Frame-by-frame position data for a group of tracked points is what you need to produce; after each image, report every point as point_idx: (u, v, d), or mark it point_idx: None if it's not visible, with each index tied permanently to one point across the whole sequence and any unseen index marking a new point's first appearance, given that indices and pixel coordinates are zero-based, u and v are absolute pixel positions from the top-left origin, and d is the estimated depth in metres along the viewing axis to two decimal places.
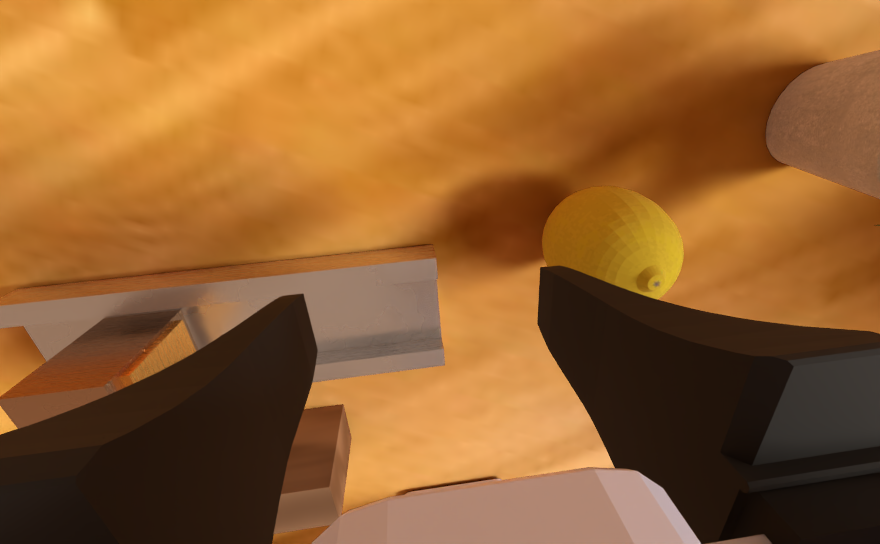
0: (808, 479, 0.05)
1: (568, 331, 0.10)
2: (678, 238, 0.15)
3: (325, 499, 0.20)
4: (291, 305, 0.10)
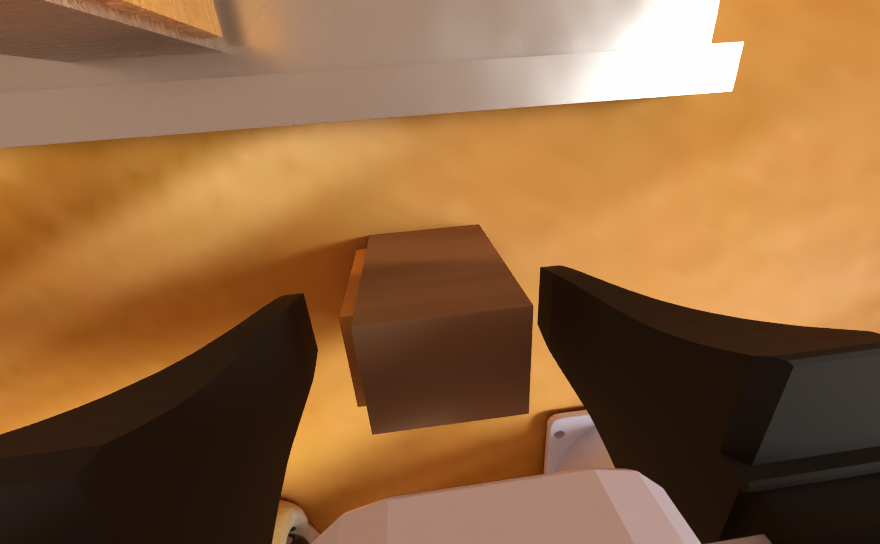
0: (808, 479, 0.05)
1: (568, 331, 0.10)
2: None
3: (515, 343, 0.09)
4: (291, 305, 0.10)
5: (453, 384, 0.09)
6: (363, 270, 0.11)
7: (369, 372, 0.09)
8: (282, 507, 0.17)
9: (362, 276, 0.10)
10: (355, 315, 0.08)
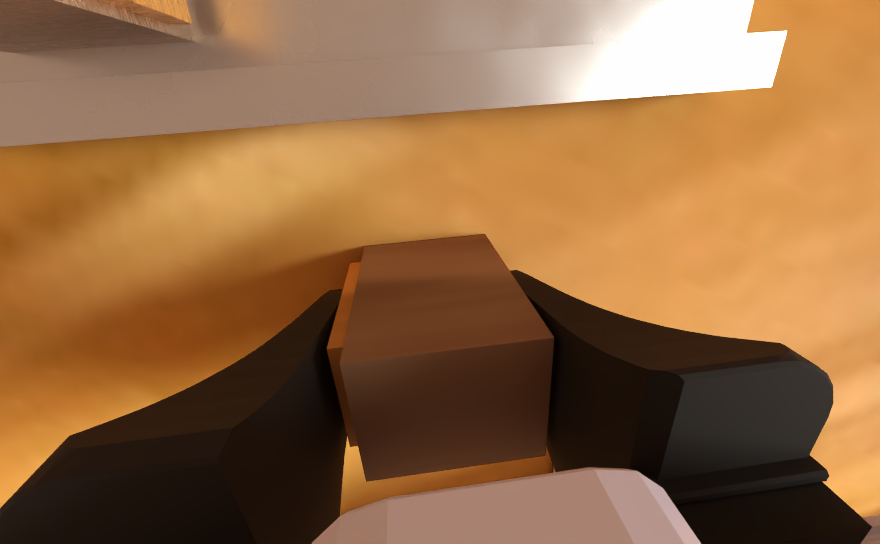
0: (712, 494, 0.05)
1: None
2: None
3: (531, 379, 0.07)
4: None
5: (459, 425, 0.08)
6: (356, 289, 0.09)
7: (362, 414, 0.07)
8: None
9: (355, 297, 0.09)
10: (345, 348, 0.07)
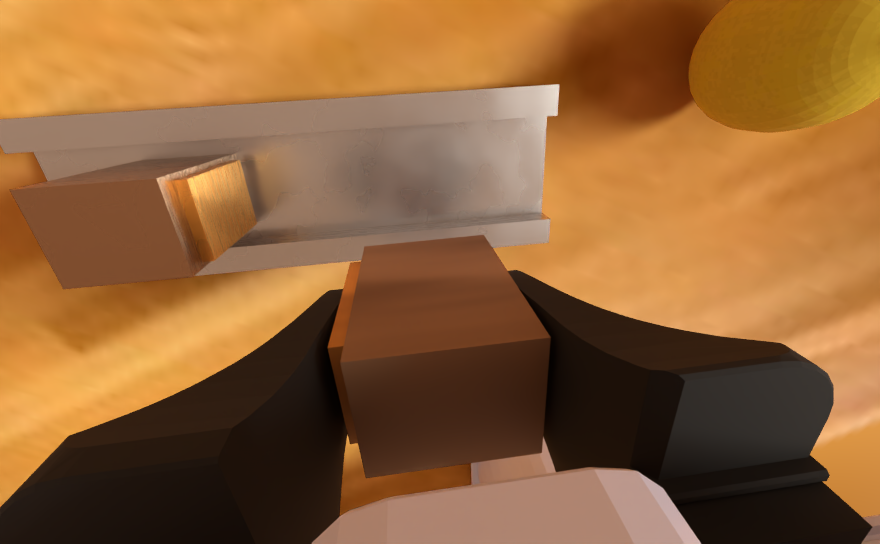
0: (712, 494, 0.05)
1: None
2: None
3: (528, 378, 0.08)
4: None
5: (458, 423, 0.08)
6: (356, 289, 0.10)
7: (362, 412, 0.07)
8: None
9: (355, 297, 0.09)
10: (346, 347, 0.07)
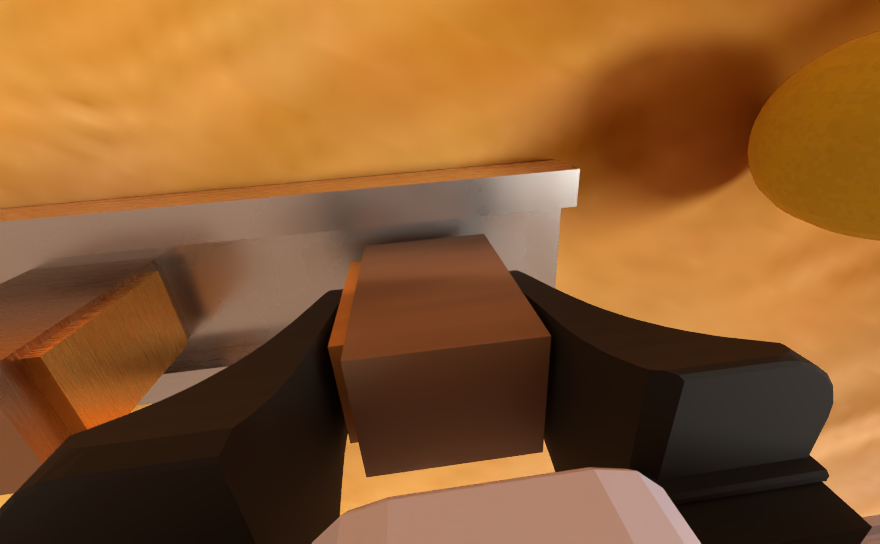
0: (711, 493, 0.05)
1: None
2: None
3: (529, 377, 0.08)
4: None
5: (458, 422, 0.08)
6: (357, 288, 0.10)
7: (362, 410, 0.07)
8: None
9: (355, 296, 0.09)
10: (346, 346, 0.07)
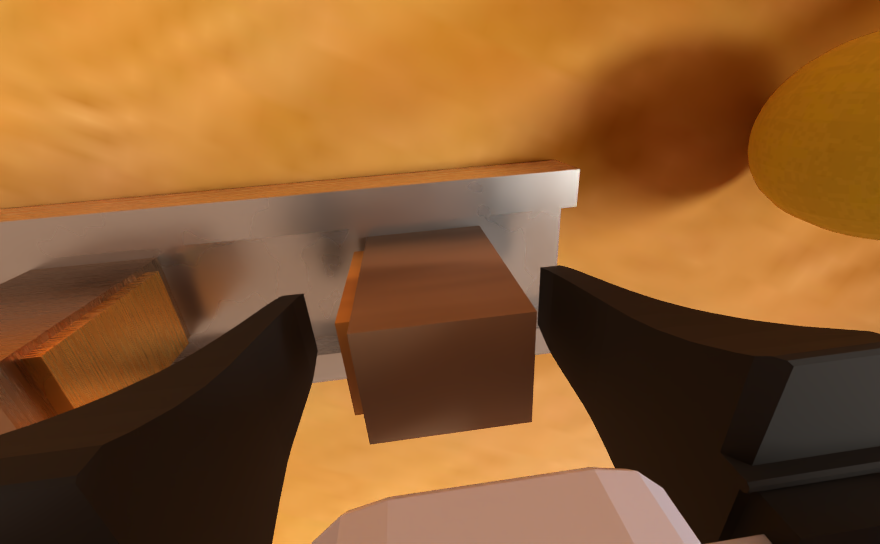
0: (807, 479, 0.05)
1: (568, 331, 0.10)
2: None
3: (517, 350, 0.08)
4: (291, 305, 0.10)
5: (454, 392, 0.09)
6: (360, 273, 0.10)
7: (366, 381, 0.08)
8: None
9: (359, 280, 0.10)
10: (352, 321, 0.08)
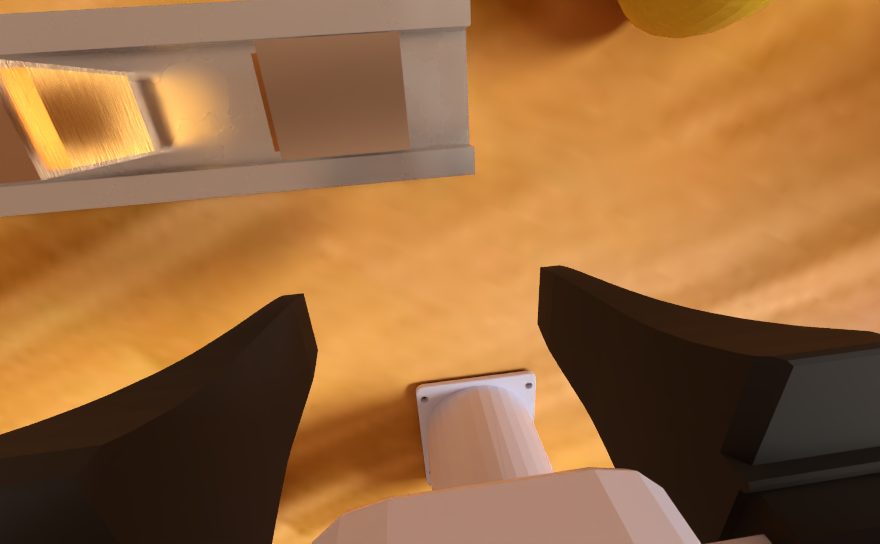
0: (808, 479, 0.05)
1: (568, 331, 0.10)
2: None
3: (389, 70, 0.11)
4: (291, 305, 0.10)
5: (343, 110, 0.11)
6: None
7: (272, 91, 0.11)
8: None
9: None
10: None
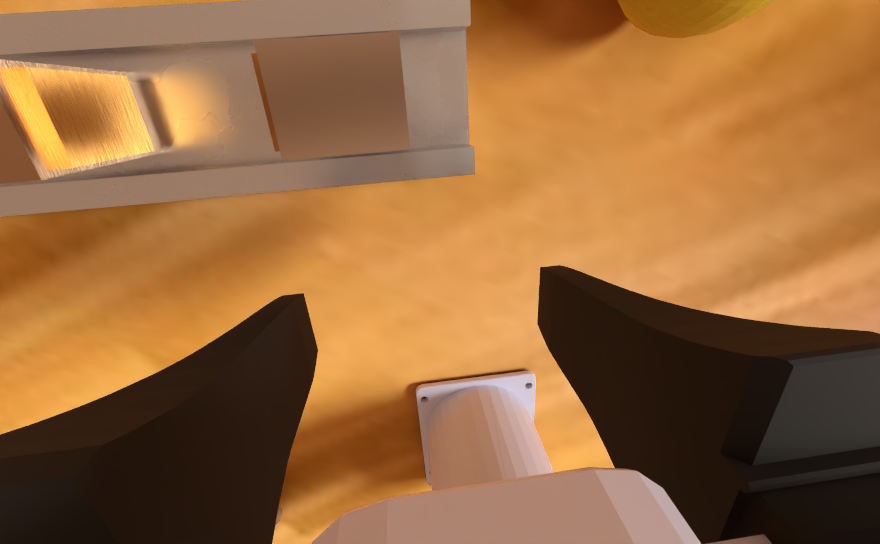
0: (808, 479, 0.05)
1: (568, 331, 0.10)
2: None
3: (388, 70, 0.11)
4: (291, 305, 0.10)
5: (343, 111, 0.11)
6: None
7: (272, 91, 0.11)
8: None
9: None
10: None
